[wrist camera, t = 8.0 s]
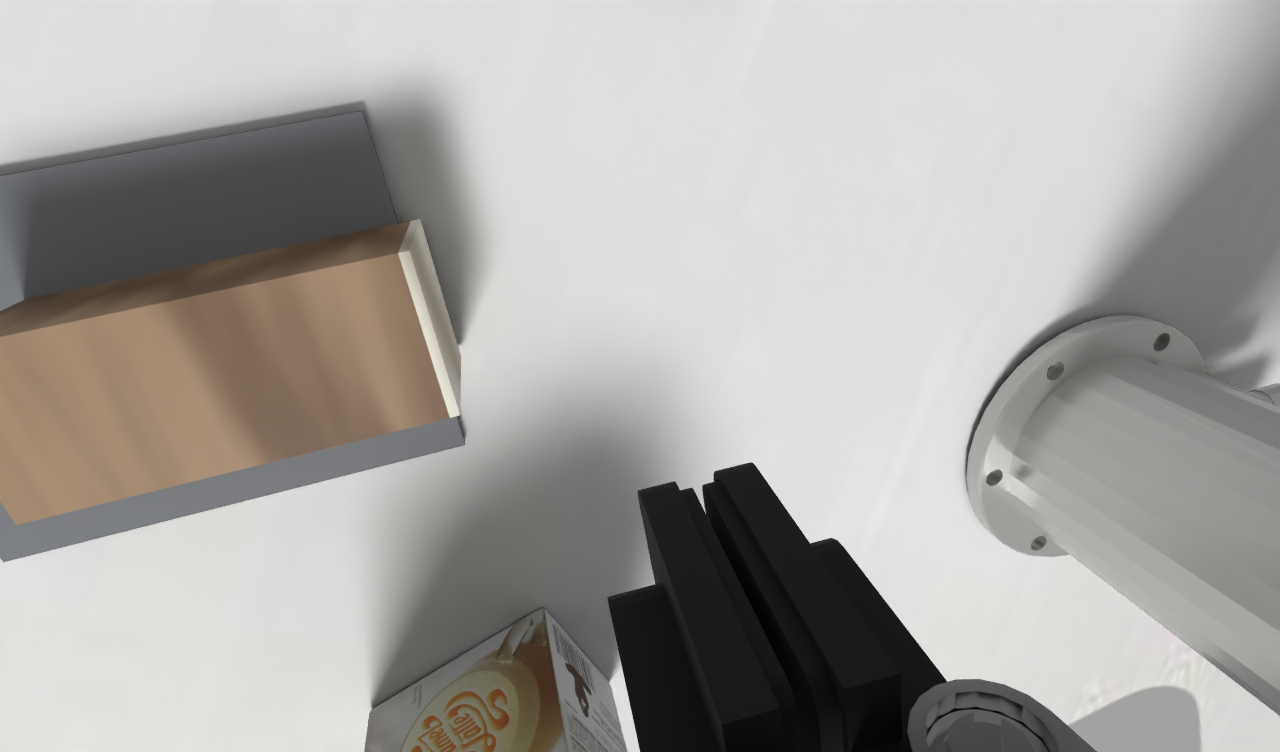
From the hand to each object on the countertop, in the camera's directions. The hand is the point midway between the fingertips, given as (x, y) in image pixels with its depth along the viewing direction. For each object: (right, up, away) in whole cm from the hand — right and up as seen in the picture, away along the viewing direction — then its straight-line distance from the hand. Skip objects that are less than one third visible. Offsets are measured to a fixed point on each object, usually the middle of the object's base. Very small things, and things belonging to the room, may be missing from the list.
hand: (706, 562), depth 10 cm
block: (-7, +5, +12) cm, 15 cm away
